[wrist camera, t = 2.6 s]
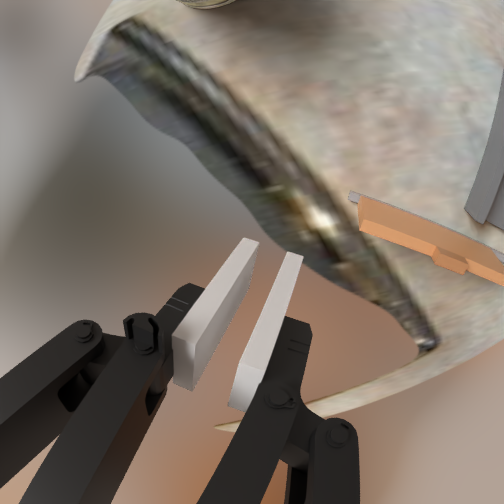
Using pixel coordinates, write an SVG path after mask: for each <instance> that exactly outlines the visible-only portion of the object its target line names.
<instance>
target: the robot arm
mask: <svg viewBox="0 0 504 504" xmlns="http://www.w3.org/2000/svg"><path fill="white" fill-rule="evenodd" d="M258 246H259V242H256V241H254V240H250V239H247V238H243V239H242V240H241V242H240V243H239V244H238V246H237V247H236V248H235V250H234V251H233V252H232V254H231V255H230V256H229V258H228V259H227V261H226V262H225V263H224V264H223V266H222V267H221V269H220V270H219V271H218V273H217V274H216V275H215V277H214V278H213V279H212V281H211V282H210V283H209V285H208V286H207V287H206V289H204V288H202V287H199V286H196V285H194V284H191V283H188V284H186V285H184V286H182V287H180V288H179V289H178V290H177V291H176V292H175V293H174V294H173V295H172V297H171V298H170V299H169V300H168V301H167V303H166V305H164V306H163V308H162V309H161V310H160V311H159V312H158V313H157V314H156V316H154V315H152V314H148V313H135V314H132V315H130V316H128V317H127V318H125V319H124V320H123V324H124V330H125V336H126V337H121V336H116V335H110V334H106V333H102V329H101V328H100V326H99V325H98V324H97V323H96V322H94V321H91V320H81V321H77V322H75V323H73V324H72V325H70V326H69V327H67V328H66V329H65V330H63V331H62V332H61V333H59V334H58V335H56V336H55V337H54V338H52V339H51V340H50V341H48V342H47V343H46V344H44V345H43V346H42V347H40V348H39V349H38V350H36V351H35V352H34V353H33V354H31V355H30V356H28V357H27V358H26V359H25V360H23V361H22V362H21V363H19V364H18V365H17V366H15V367H14V368H13V369H12V370H10V371H9V372H8V373H7V374H5V375H4V376H3V377H1V378H0V488H2V487H3V486H4V485H5V484H6V483H7V482H8V481H9V480H10V479H11V478H12V477H14V476H15V475H16V474H17V473H18V472H19V471H20V470H21V469H22V468H24V467H25V466H26V465H27V464H28V463H29V462H30V461H31V460H32V459H33V458H34V457H36V456H37V455H38V454H39V453H40V452H41V451H42V450H43V449H44V448H45V447H47V446H48V445H49V444H50V443H51V442H52V441H53V440H54V439H55V438H56V437H57V436H59V437H58V438H57V440H56V442H55V443H54V445H53V446H52V448H51V450H50V451H49V453H48V455H47V456H46V458H45V459H44V461H43V463H42V464H41V466H40V468H39V469H38V471H37V473H36V474H35V476H34V478H33V479H32V481H31V483H30V485H29V487H28V488H27V490H26V492H25V493H24V495H23V497H22V499H21V501H20V502H19V504H111V502H112V500H113V498H114V496H115V494H116V492H117V490H118V488H119V486H120V484H121V482H122V480H123V478H124V476H125V474H126V472H127V470H128V468H129V466H130V464H131V462H132V460H133V458H134V456H135V454H136V452H137V450H138V448H139V446H140V444H141V442H142V440H143V438H144V436H145V434H146V432H147V430H148V429H149V426H150V425H151V422H152V421H153V419H154V417H155V415H156V413H157V411H158V409H159V407H160V405H161V403H162V401H163V399H164V397H165V395H166V392H167V384H168V383H169V381H170V379H171V378H172V376H173V383H174V384H176V385H178V386H181V387H183V388H185V389H187V390H190V391H193V390H194V388H195V386H196V384H197V382H198V380H199V379H200V377H201V375H202V373H203V372H204V369H205V367H206V366H207V364H208V362H209V361H210V359H211V357H212V355H213V353H214V352H215V350H216V348H217V346H218V344H219V343H220V341H221V338H222V337H223V335H224V333H225V331H226V330H227V328H228V326H229V324H230V322H231V320H232V318H233V317H234V315H235V313H236V311H237V309H238V308H239V306H240V304H241V302H242V300H243V298H244V297H245V295H246V293H247V291H248V289H249V286H250V281H251V277H252V272H253V268H254V264H255V259H256V255H257V251H258ZM302 260H303V256H300V255H297V254H294V253H291V252H288V251H287V254H286V256H285V258H284V261H283V263H282V266H281V268H280V270H279V273H278V275H277V278H276V280H275V282H274V284H273V287H272V290H271V291H270V294H269V296H268V298H267V301H266V303H265V305H264V308H263V310H262V312H261V315H260V317H259V319H258V321H257V324H256V326H255V328H254V330H253V333H252V335H251V337H250V339H249V342H248V344H247V346H246V349H245V351H244V353H243V355H242V357H241V360H240V362H239V365H238V369H237V373H236V377H235V380H234V384H233V387H232V391H231V395H230V399H229V402H228V406H229V407H232V408H235V409H238V410H240V411H243V412H246V413H245V415H244V417H243V419H242V421H241V423H240V425H239V427H238V429H237V431H236V433H235V435H234V437H233V439H232V440H231V442H230V444H229V446H228V448H227V450H226V452H225V454H224V456H223V457H222V459H221V461H220V463H219V465H218V467H217V469H216V470H215V472H214V474H213V476H212V478H211V479H210V481H209V483H208V485H207V487H206V488H205V490H204V492H203V493H202V495H201V497H200V499H199V501H198V502H197V504H260V503H261V500H262V498H263V496H264V494H265V492H266V489H267V487H268V485H269V483H270V480H271V478H272V475H273V473H274V471H275V468H276V466H277V463H278V461H279V459H280V460H282V461H283V462H285V463H287V464H288V472H287V481H286V491H285V500H284V504H360V474H359V473H360V471H359V447H358V436H357V432H356V430H355V428H354V427H353V426H352V425H351V424H350V423H349V422H347V421H346V420H344V419H340V418H329V419H327V420H325V419H323V418H321V417H320V416H318V415H316V414H315V413H313V412H312V411H311V410H309V409H308V408H307V407H306V406H305V404H304V403H303V401H302V399H301V395H300V387H301V383H302V379H303V375H304V371H305V367H306V362H307V358H308V354H309V349H310V344H311V340H312V331H311V328H310V324H308V323H305V322H302V321H299V320H296V319H293V318H290V317H287V316H285V313H286V310H287V307H288V304H289V301H290V298H291V295H292V292H293V289H294V286H295V282H296V279H297V276H298V273H299V269H300V266H301V263H302Z"/></svg>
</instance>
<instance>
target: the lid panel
mask: <svg viewBox="0 0 504 504" xmlns="http://www.w3.org/2000/svg"><path fill="white" fill-rule="evenodd" d="M357 206H358V217H359V229H360V231H363V232H365V233H368V234H371V235H374V236H377V237H380V238H383V239H385V240H388V241H391V242H394V243H396V244H399V245H402V246H405V247H407V248H410V249H413V250H415V251H418V252H421V253H423V254H426V255H429V256H431V257H432V259H433V261H434V264H436V265H438V266H441V267H444V268H446V269H449V270H451V271H454V272H456V273H459V274H461V275H464V273H465V271H469V272H471V273H474V274H476V275H478V276H481V277H483V278H486V279H488V280H490V281H493V282H495V283H497V284H499V285H502V286H504V266H503V265H502V263H501V262H500V260H499V259H498V258H497V256H496V255H495V254H494V252H493V251H492V250H491V249H490V248H488V247H486V246H484V245H482V244H480V243H478V242H476V241H474V240H471V239H469V238H467V237H465V236H463V235H460V234H458V233H456V232H454V231H451V230H449V229H447V228H444V227H442V226H440V225H437V224H435V223H432V222H430V221H428V220H425V219H423V218H420V217H418V216H415V215H413V214H410V213H407V212H405V211H402V210H400V209H397V208H394V207H392V206H389V205H386V204H384V203H381V202H378V201H375V200H372V199H370V198H367V197H364V196H360V199H359V202H358V205H357Z"/></svg>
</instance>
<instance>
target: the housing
mask: <svg viewBox="0 0 504 504" xmlns="http://www.w3.org/2000/svg"><path fill="white" fill-rule="evenodd" d="M360 196H364V197H367V196H365V195H362V194H359V193H356V192H353V191H350V193H349V196H348V200H350V201H353V202H356V203H358V202H359V199H360ZM367 198H370V197H367ZM370 199H372V200H375V201H378V202H381V201H379V200H376V199H373V198H370ZM381 203H384V202H381ZM384 204H386V205H389V206H392V205H390V204H387V203H384ZM392 207H394V208H397V209H400V208H398V207H395V206H392ZM464 209H465V210H466V211H467V212H468V213H469V214H470V215H471V216H472V217H473V218H474V220H475V221H477V222H479V223H481V224H484V222H485V220H486V221H488V222H489V223H491V224H493V225H495V226H497V227H499V228H501V229H503V230H504V70H503V77H502V83H501V88H500V93H499V98H498V103H497V108H496V112H495V116H494V120H493V124H492V128H491V132H490V136H489V139H488V143H487V146H486V149H485V152H484V156H483V159H482V162H481V165H480V168H479V171H478V174H477V176H476V179H475V182H474V185H473V187H472V190H471V193H470V195H469V198H468V200H467V203H466V205H465V208H464ZM400 210H402V211H405V210H403V209H400ZM405 212H407V213H410V214H413V213H411V212H408V211H405ZM413 215H415V216H418V215H416V214H413ZM418 217H420V218H423V217H421V216H418ZM423 219H425V220H428V219H426V218H423ZM428 221H430V222H432V223H435V222H433V221H431V220H428ZM435 224H437V225H440V224H438V223H435ZM440 226H442V225H440ZM442 227H444V228H447V227H445V226H442ZM447 229H449V228H447ZM449 230H451V231H454V230H452V229H449ZM454 232H456V231H454ZM456 233H458V234H460V235H463V234H461V233H459V232H456ZM463 236H465V235H463ZM465 237H467V236H465ZM467 238H469V239H471V240H474V239H472V238H470V237H467ZM474 241H476V240H474ZM476 242H478V241H476ZM478 243H480V242H478ZM480 244H482V243H480ZM482 245H484V246H486V247H488V248H490V249H491V250H492V251H493V252H494V254H495V255H496V256H497V258H498V259H499V260H500V261H501V262H503V263H504V254H503V253H501V252H499V251H497V250H495V249H493V248H491V247H489V246H487V245H485V244H482Z"/></svg>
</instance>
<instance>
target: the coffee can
mask: <svg viewBox="0 0 504 504" xmlns="http://www.w3.org/2000/svg"><path fill="white" fill-rule="evenodd" d="M177 1H179V2H181V3H183V4H184V5H187V6H189V7H192V8H198V9H210V8H217V7H220V6H224V5H226V4H229V3H232V2H233V1H235V0H177Z"/></svg>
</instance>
